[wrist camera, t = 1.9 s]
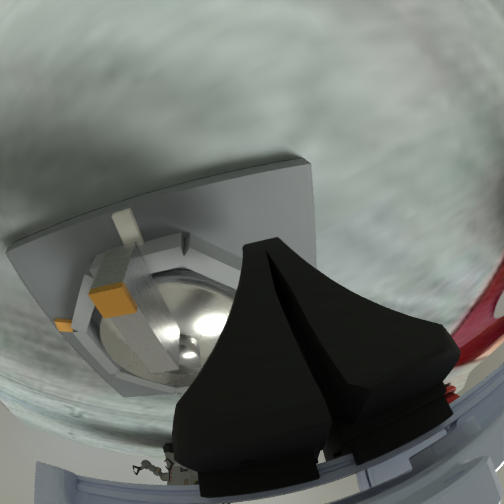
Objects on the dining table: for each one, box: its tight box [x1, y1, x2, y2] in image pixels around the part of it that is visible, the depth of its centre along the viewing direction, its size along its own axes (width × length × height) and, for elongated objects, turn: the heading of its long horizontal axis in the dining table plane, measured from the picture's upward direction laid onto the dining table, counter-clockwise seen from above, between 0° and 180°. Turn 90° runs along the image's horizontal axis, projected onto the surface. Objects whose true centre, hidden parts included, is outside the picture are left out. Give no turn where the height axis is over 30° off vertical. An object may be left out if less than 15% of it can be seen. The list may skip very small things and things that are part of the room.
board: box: [5, 158, 316, 397], centre depth 15 cm, size 16×17×2 cm
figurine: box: [133, 444, 230, 504], centre depth 24 cm, size 9×12×15 cm
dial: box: [88, 242, 236, 385], centre depth 13 cm, size 12×9×4 cm
